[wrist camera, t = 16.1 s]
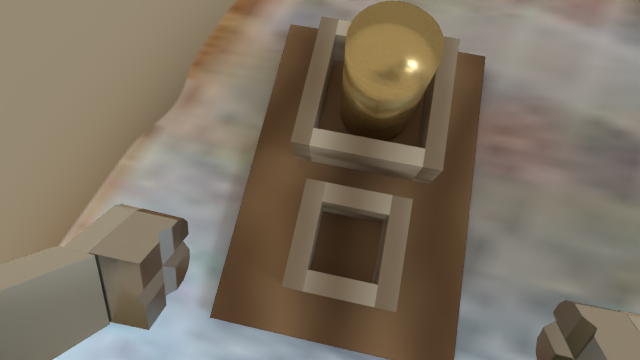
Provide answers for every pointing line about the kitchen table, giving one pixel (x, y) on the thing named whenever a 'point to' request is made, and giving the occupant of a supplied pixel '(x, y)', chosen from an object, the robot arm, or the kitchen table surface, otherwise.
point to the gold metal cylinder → (387, 67)
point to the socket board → (355, 211)
